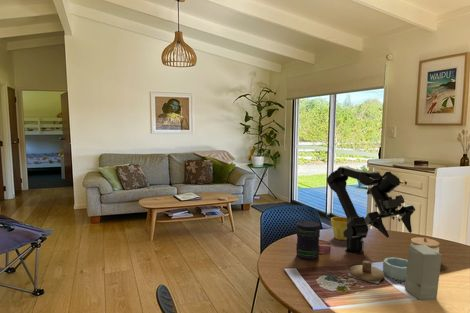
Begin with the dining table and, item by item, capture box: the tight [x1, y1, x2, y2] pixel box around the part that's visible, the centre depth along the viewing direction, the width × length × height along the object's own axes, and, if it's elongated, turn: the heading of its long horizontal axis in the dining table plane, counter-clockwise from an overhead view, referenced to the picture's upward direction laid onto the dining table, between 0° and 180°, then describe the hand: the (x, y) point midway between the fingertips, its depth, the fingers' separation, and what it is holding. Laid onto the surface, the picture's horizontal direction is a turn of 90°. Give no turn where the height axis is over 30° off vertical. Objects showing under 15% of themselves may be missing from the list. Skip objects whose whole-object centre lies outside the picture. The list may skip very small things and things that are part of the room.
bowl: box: [382, 256, 408, 281], centre depth 127 cm, size 10×10×4 cm
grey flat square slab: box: [347, 272, 386, 285], centre depth 126 cm, size 11×11×1 cm
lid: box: [349, 260, 385, 282], centre depth 126 cm, size 12×12×4 cm
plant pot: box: [330, 216, 347, 241], centre depth 169 cm, size 10×10×10 cm
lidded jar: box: [410, 237, 440, 253], centre depth 142 cm, size 11×11×9 cm
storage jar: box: [295, 219, 321, 262], centre depth 143 cm, size 10×10×15 cm
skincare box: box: [404, 244, 443, 301], centre depth 111 cm, size 8×7×16 cm
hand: (399, 234), depth 126 cm, fingers open, 9 cm apart
